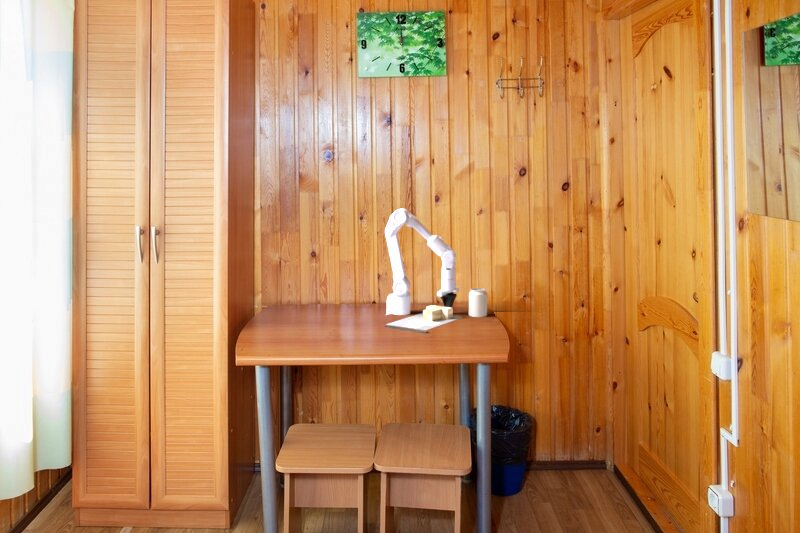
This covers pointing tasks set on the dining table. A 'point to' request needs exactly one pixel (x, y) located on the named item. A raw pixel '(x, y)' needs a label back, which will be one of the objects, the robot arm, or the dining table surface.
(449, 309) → the block
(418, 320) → the board
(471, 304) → the can
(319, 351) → the dining table surface
